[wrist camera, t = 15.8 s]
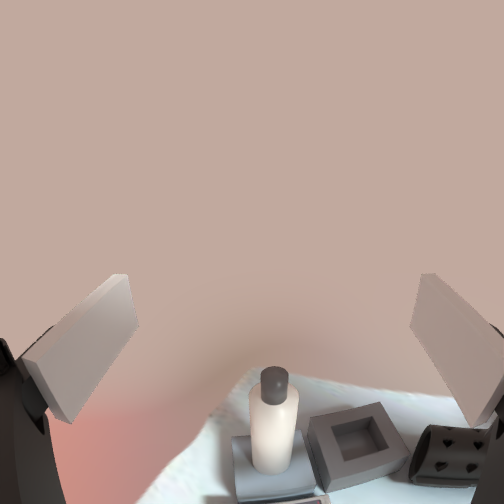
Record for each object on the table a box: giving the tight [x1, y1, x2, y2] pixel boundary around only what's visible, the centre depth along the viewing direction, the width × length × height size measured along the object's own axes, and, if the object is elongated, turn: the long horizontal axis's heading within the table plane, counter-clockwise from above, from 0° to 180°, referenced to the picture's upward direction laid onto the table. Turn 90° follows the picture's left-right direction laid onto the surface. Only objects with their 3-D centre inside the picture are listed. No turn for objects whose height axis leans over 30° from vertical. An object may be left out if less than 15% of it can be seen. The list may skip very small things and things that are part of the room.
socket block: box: [307, 402, 411, 493], centre depth 33 cm, size 12×12×5 cm
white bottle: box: [249, 366, 299, 476], centre depth 28 cm, size 5×5×17 cm
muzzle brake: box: [409, 425, 492, 488], centre depth 20 cm, size 10×28×10 cm
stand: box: [232, 429, 316, 504], centre depth 31 cm, size 10×10×5 cm
